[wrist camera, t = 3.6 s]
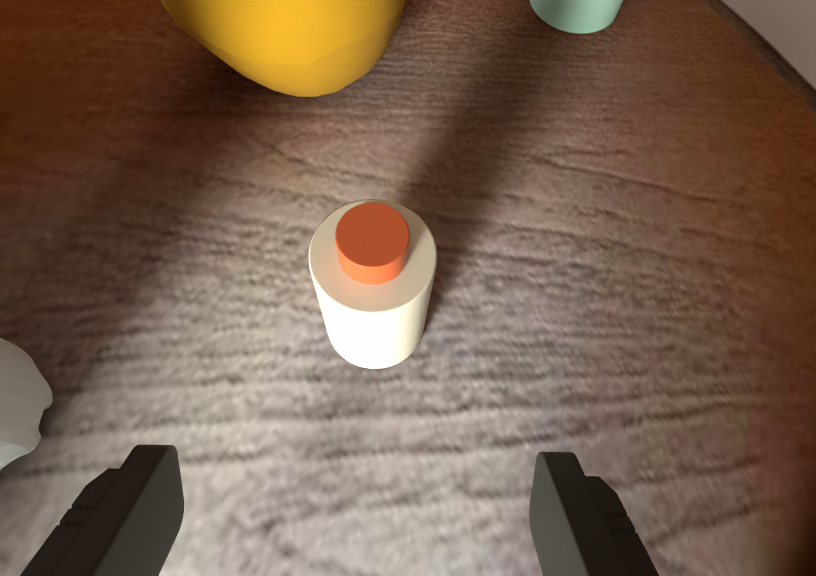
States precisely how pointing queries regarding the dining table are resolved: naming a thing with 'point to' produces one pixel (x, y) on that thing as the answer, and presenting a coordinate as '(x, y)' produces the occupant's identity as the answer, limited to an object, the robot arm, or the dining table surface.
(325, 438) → the dining table surface
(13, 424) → the bottle
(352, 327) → the cream bottle
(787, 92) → the dining table surface
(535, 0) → the celadon jar
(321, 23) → the apple
